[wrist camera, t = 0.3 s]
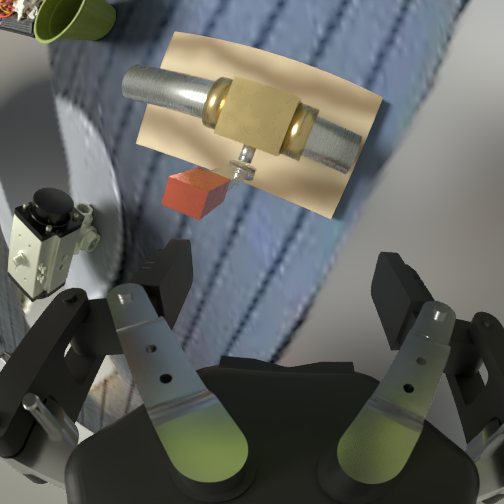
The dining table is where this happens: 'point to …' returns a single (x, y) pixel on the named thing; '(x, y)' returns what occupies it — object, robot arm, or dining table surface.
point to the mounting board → (224, 149)
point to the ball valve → (48, 241)
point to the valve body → (247, 115)
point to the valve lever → (204, 187)
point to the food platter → (19, 16)
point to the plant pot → (73, 20)
